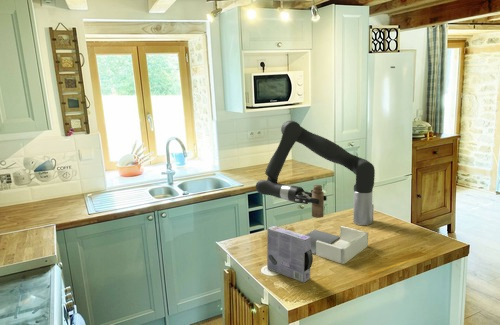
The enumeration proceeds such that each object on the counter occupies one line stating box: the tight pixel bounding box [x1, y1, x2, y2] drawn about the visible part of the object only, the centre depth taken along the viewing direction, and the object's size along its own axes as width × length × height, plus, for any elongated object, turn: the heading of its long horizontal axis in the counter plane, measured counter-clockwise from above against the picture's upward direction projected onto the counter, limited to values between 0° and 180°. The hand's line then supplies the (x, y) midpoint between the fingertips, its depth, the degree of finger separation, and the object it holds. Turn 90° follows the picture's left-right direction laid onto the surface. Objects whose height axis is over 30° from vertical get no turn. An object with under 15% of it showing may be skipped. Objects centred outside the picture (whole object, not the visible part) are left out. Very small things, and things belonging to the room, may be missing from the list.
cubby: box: [315, 225, 369, 265], centre depth 163 cm, size 21×13×7 cm, turn 137°
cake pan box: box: [266, 225, 314, 284], centre depth 145 cm, size 19×5×18 cm, turn 48°
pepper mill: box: [311, 184, 325, 219], centre depth 167 cm, size 5×5×14 cm
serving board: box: [305, 229, 340, 256], centre depth 173 cm, size 22×14×1 cm, turn 137°
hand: (322, 200), depth 165 cm, fingers closed on pepper mill, 5 cm apart
